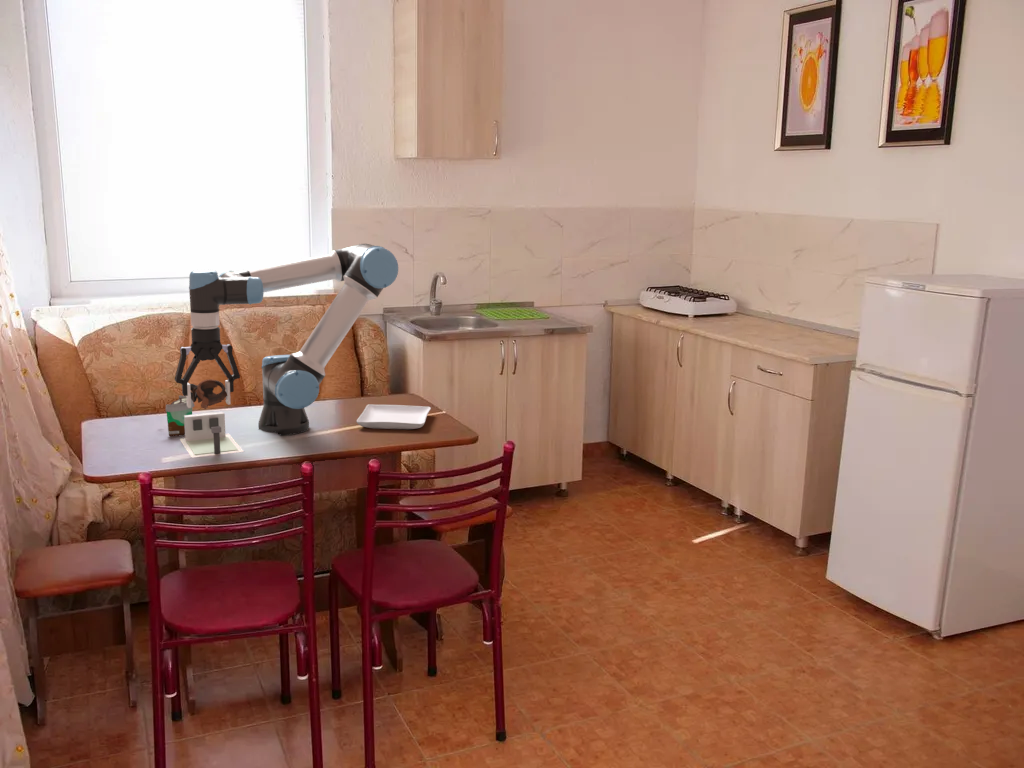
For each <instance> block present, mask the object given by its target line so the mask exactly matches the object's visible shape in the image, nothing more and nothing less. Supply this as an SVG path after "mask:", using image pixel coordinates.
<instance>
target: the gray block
mask: <svg viewBox="0 0 1024 768" xmlns="http://www.w3.org/2000/svg"><path fill="white" fill-rule="evenodd" d="M211 432H212V433H213V435H214V454H220V432H221V427H220V426H215V427H211ZM220 455H221V454H220Z"/></svg>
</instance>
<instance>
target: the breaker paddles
mask: <svg viewBox="0 0 1024 768" xmlns="http://www.w3.org/2000/svg"><path fill="white" fill-rule="evenodd" d="M209 424H210V429H211V427H215V426H219V423H218V418H209ZM193 430H194V431H196V430H202V419H198V420H193Z"/></svg>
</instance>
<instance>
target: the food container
mask: <svg viewBox="0 0 1024 768" xmlns="http://www.w3.org/2000/svg"><path fill="white" fill-rule="evenodd" d="M194 407H195V402H193V401H192V399H191V408H188V407H187V398H186V396H184V395H178V399H177V400H174V401H172V402H171V404H165V413H166V419H167V431H168V437H169V436H170V437H180V436H179V435H182V436H185V425H184V415H193V408H194Z"/></svg>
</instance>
